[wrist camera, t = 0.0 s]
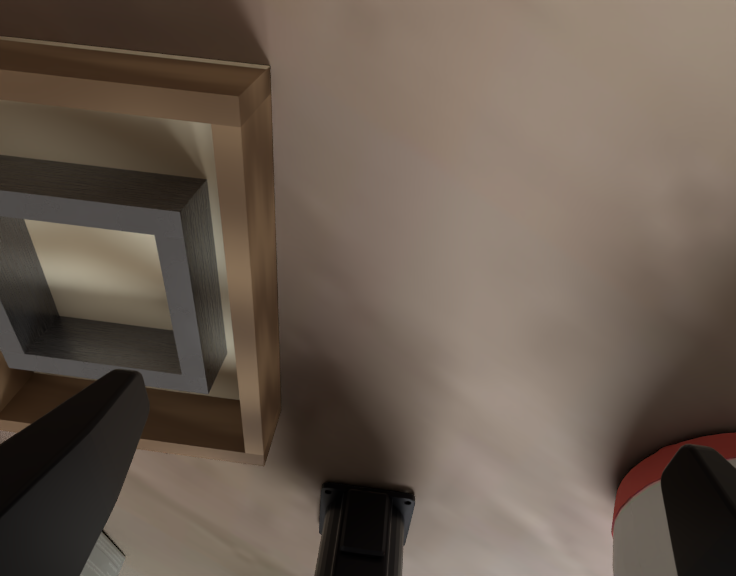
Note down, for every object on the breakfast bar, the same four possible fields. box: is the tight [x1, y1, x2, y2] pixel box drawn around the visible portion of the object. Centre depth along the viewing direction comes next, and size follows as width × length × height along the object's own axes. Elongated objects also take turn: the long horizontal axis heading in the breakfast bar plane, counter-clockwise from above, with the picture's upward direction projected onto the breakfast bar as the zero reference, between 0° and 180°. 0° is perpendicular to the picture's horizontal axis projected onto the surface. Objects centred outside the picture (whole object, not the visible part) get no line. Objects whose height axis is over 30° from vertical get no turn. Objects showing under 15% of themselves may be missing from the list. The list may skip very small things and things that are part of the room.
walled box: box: [0, 36, 281, 466], centre depth 24 cm, size 20×16×4 cm
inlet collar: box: [0, 155, 227, 394], centre depth 24 cm, size 10×10×3 cm
